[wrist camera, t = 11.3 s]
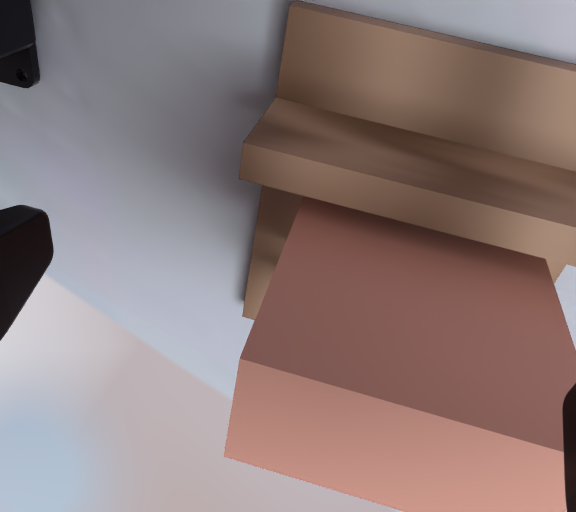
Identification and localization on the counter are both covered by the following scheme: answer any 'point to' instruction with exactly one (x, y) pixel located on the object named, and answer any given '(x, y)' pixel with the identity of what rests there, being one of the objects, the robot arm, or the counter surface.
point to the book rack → (414, 138)
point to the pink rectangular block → (406, 368)
